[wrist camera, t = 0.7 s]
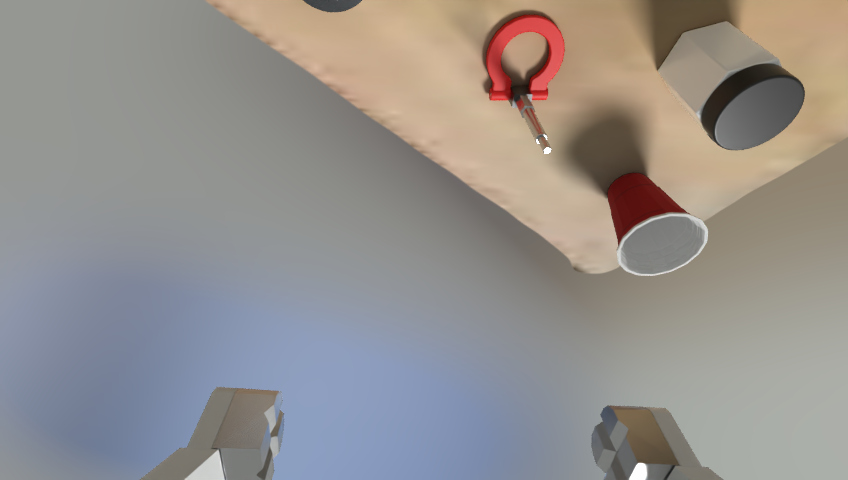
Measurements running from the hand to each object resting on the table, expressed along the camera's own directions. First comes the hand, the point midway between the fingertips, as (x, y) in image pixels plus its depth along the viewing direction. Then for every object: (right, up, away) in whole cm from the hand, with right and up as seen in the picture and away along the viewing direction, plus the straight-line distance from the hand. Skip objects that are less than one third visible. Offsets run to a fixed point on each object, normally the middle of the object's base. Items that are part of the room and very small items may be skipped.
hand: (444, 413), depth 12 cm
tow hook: (+10, +25, +39) cm, 48 cm away
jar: (+31, +25, +41) cm, 57 cm away
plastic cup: (+28, +12, +54) cm, 62 cm away
